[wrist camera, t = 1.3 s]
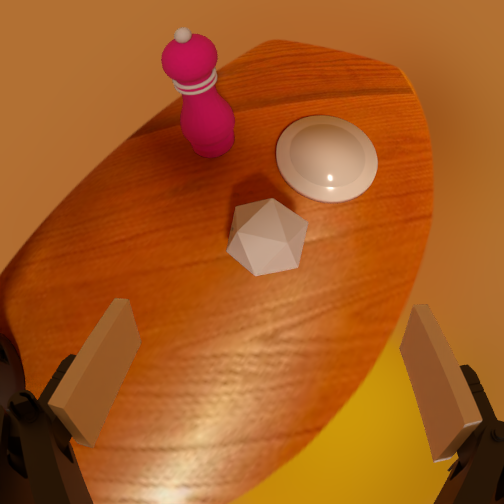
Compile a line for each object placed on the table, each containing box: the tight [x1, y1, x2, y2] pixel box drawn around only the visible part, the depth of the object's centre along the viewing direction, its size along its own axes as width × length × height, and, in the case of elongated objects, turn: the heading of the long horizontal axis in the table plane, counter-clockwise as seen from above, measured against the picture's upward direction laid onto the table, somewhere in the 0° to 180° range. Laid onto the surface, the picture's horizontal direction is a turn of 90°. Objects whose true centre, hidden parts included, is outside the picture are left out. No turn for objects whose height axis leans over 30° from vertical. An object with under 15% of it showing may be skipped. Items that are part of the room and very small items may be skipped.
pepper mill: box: [161, 27, 235, 158], centre depth 35 cm, size 7×7×20 cm
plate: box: [276, 115, 378, 203], centre depth 42 cm, size 14×14×1 cm
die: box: [226, 198, 308, 276], centre depth 36 cm, size 8×9×10 cm
